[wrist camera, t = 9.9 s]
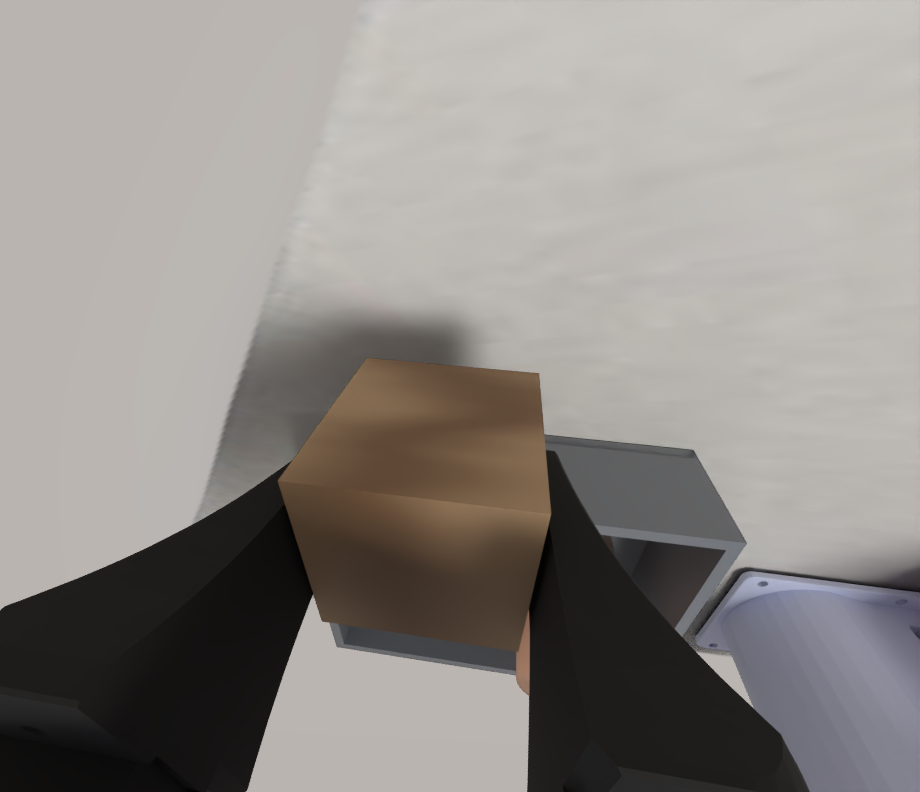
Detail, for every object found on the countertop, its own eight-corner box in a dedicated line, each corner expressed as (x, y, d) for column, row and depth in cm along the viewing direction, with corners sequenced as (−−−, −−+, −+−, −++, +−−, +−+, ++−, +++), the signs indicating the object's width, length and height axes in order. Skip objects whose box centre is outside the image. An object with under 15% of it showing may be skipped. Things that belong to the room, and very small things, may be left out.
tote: (693, 450, 18) (747, 543, 14) (620, 603, 25) (641, 695, 21) (338, 414, 19) (289, 487, 15) (365, 567, 26) (336, 646, 22)
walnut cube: (538, 373, 11) (551, 514, 7) (518, 496, 14) (518, 651, 9) (366, 357, 11) (277, 480, 7) (380, 480, 14) (321, 621, 10)
